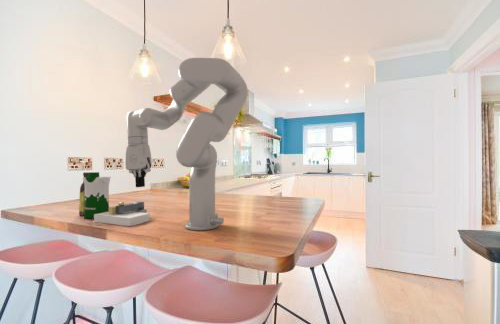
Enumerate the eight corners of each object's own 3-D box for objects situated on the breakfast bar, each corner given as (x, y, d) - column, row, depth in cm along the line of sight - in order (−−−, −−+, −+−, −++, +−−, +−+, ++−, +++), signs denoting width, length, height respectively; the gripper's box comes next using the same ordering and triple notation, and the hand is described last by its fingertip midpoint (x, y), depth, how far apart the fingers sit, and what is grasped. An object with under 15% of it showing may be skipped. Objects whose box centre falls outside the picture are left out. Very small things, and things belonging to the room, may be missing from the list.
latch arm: (139, 207, 111) (139, 199, 111) (146, 208, 109) (146, 199, 109) (114, 212, 100) (114, 202, 100) (121, 213, 98) (121, 203, 98)
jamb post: (146, 216, 109) (146, 209, 109) (139, 218, 105) (139, 210, 106) (138, 215, 111) (138, 208, 111) (130, 217, 107) (130, 210, 107)
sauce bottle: (83, 216, 111) (84, 172, 111) (75, 215, 114) (75, 172, 114) (98, 213, 117) (98, 172, 117) (90, 212, 119) (90, 172, 120)
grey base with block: (149, 220, 101) (149, 206, 101) (129, 226, 92) (129, 210, 92) (115, 216, 109) (115, 203, 109) (94, 221, 100) (94, 207, 100)
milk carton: (80, 218, 105) (80, 172, 106) (95, 214, 114) (95, 172, 115) (99, 219, 104) (99, 172, 105) (113, 214, 113) (113, 172, 114)
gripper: (117, 143, 99) (119, 188, 99) (144, 139, 94) (147, 187, 93) (132, 144, 106) (134, 186, 106) (159, 141, 100) (161, 185, 100)
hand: (140, 186), depth 99 cm, fingers closed
